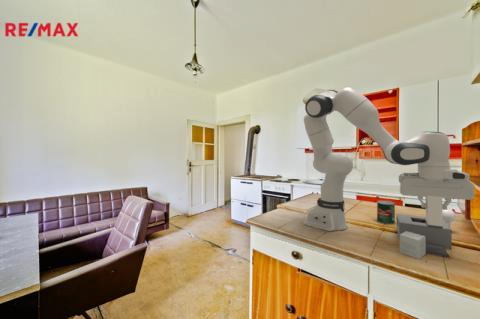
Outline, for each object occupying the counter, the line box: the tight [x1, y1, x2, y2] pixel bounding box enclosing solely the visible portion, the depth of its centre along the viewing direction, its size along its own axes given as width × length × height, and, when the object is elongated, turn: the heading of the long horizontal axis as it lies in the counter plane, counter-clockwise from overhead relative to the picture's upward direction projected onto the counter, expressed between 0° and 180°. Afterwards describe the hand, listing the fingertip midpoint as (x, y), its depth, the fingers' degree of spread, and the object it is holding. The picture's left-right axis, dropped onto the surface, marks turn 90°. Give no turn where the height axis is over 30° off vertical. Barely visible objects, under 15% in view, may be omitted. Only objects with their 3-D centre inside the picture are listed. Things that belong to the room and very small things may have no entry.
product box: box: [399, 231, 427, 260], centre depth 74 cm, size 6×6×7 cm
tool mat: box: [425, 244, 450, 259], centre depth 75 cm, size 7×7×1 cm
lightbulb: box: [442, 208, 457, 228], centre depth 92 cm, size 6×6×11 cm
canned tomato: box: [376, 200, 396, 225], centre depth 106 cm, size 8×8×11 cm
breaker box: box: [395, 213, 453, 250], centre depth 86 cm, size 16×14×8 cm
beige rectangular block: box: [424, 196, 443, 229], centre depth 75 cm, size 4×4×14 cm
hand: (433, 208), depth 75 cm, fingers closed on beige rectangular block, 4 cm apart
